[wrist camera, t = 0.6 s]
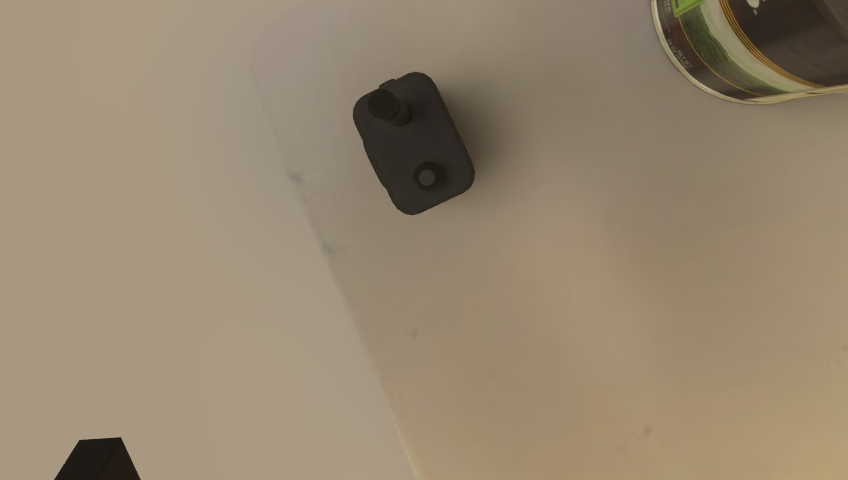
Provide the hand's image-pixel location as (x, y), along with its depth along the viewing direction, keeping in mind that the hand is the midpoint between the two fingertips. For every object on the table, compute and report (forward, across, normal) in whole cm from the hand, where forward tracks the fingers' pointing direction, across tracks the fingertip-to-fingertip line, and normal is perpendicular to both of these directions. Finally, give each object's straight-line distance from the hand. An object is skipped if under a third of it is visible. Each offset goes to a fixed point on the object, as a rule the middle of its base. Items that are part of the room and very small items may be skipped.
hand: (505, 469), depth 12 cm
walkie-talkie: (+23, -3, -3) cm, 24 cm away
